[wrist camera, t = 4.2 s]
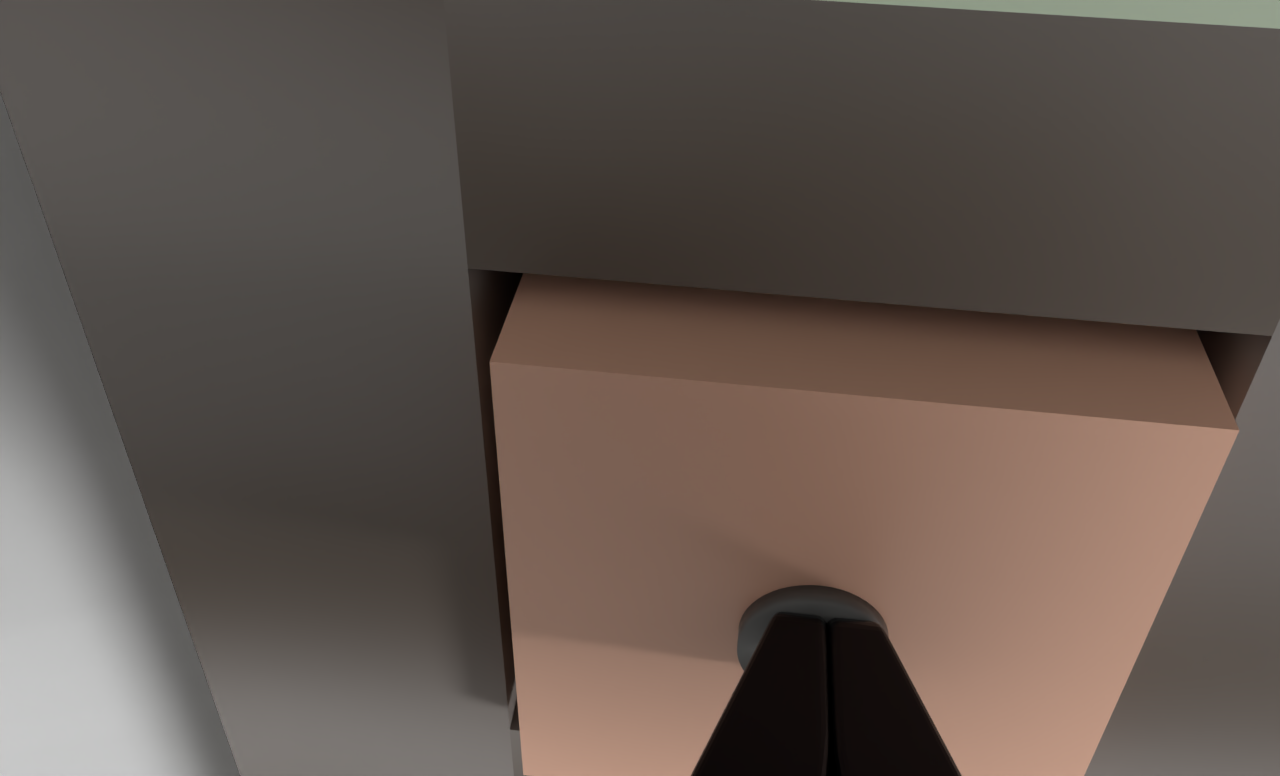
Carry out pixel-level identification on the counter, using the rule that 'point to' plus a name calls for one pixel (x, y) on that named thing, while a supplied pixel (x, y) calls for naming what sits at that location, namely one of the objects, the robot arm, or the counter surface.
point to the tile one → (836, 509)
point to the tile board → (607, 250)
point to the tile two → (1124, 9)
